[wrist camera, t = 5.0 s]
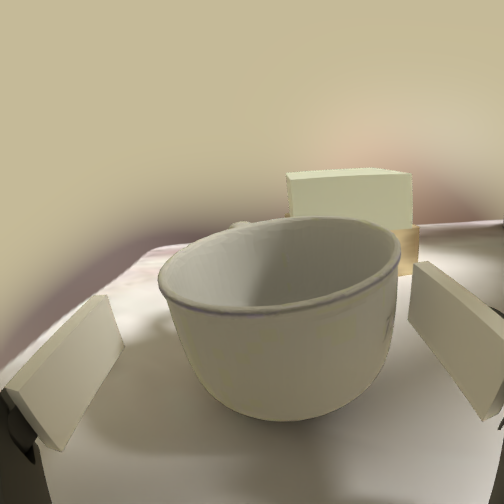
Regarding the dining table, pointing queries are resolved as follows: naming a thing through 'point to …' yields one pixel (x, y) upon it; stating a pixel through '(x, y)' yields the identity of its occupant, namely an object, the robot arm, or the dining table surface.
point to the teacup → (286, 312)
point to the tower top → (353, 195)
